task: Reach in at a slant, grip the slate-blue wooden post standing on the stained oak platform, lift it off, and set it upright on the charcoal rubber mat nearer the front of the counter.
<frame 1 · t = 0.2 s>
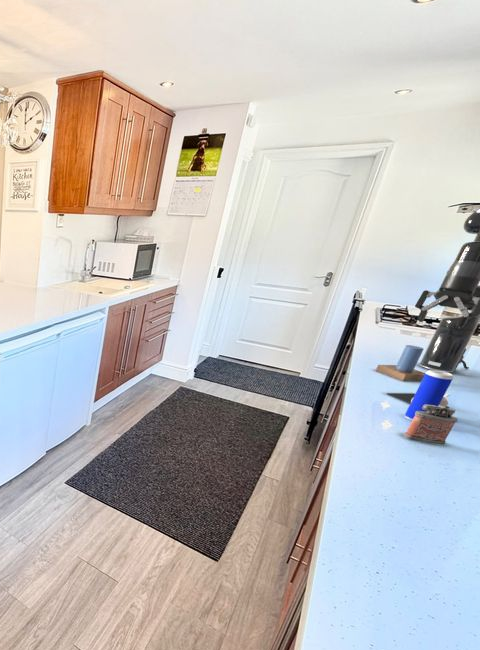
hand: (438, 325, 134), 22 cm above the countertop, tool pointing down, fingers open, 8 cm apart
mat: (416, 401, 130), on the countertop
platform: (401, 375, 151), on the countertop
beverage can: (416, 420, 117), on the countertop
garlic bulb: (423, 413, 122), on the countertop
post: (403, 369, 150), point 2 cm above the countertop, touching platform
lighter: (423, 440, 106), on the countertop
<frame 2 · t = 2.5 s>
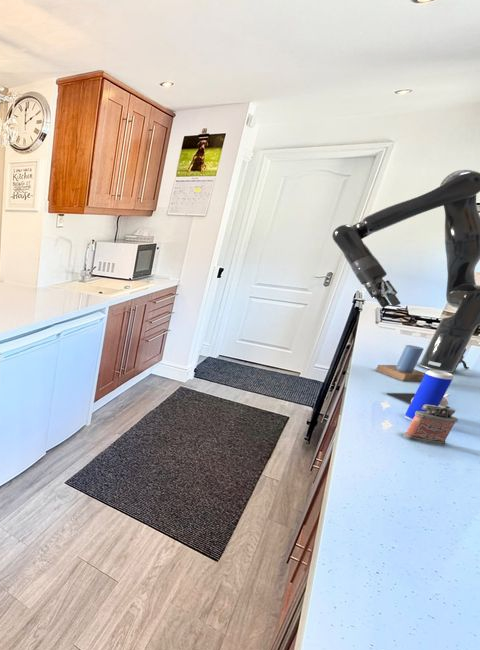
hand: (391, 305, 151), 24 cm above the countertop, tool tilted 45°, fingers open, 8 cm apart
nothing on the countertop moved.
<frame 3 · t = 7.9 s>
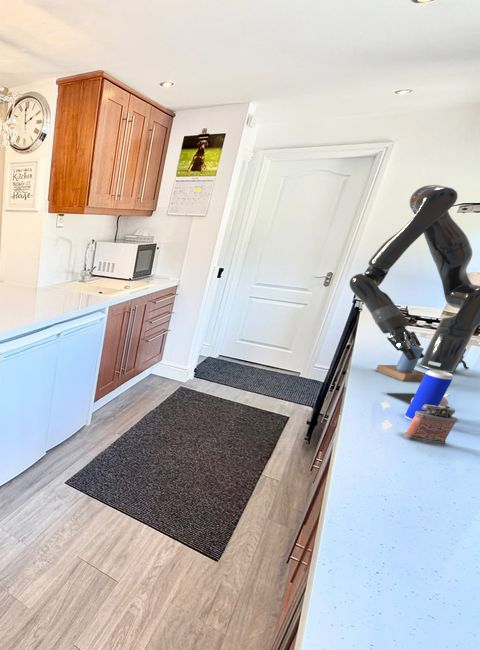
hand: (416, 358, 147), 8 cm above the countertop, tool tilted 45°, fingers closed on post, 4 cm apart
post: (403, 369, 150), point 3 cm above the countertop, touching gripper, platform
everything else where it was.
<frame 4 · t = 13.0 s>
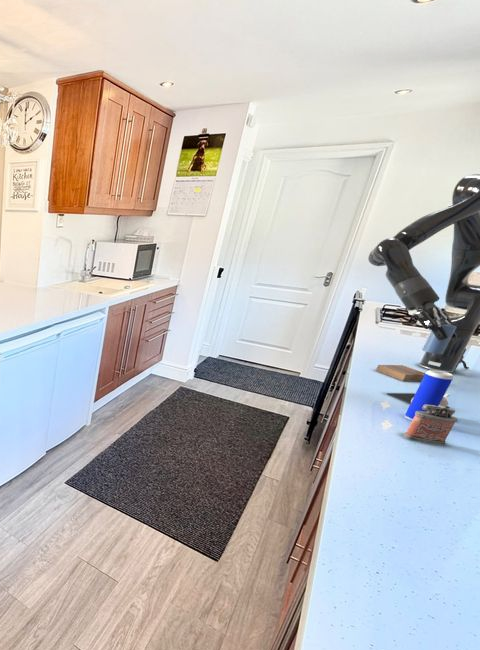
hand: (448, 338, 126), 20 cm above the countertop, tool tilted 45°, fingers closed on post, 4 cm apart
post: (432, 351, 129), point 15 cm above the countertop, touching gripper
everything else where it was.
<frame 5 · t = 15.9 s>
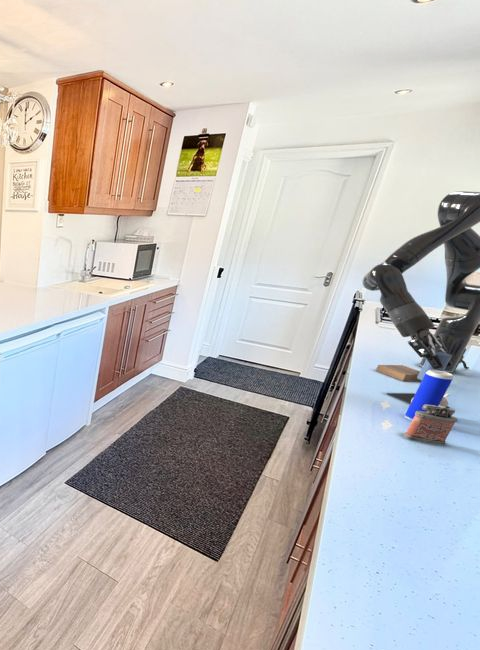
hand: (443, 367, 124), 13 cm above the countertop, tool tilted 45°, fingers closed on post, 4 cm apart
post: (427, 379, 127), point 7 cm above the countertop, touching gripper
everything else where it was.
when the fingers open (6 cm above the countertop, at t = 18.3 s): post stays where it is, resting on mat.
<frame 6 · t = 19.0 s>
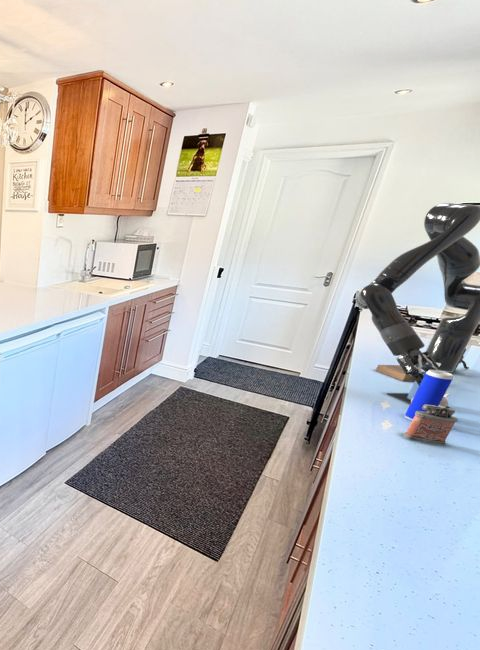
hand: (432, 384, 126), 7 cm above the countertop, tool tilted 45°, fingers open, 8 cm apart
post: (417, 399, 130), resting on mat
everything else where it was.
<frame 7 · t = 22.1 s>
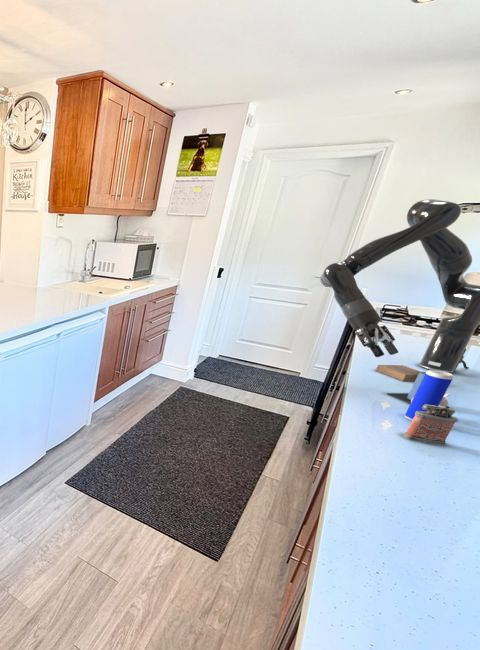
hand: (387, 355, 135), 12 cm above the countertop, tool tilted 45°, fingers open, 8 cm apart
nothing on the countertop moved.
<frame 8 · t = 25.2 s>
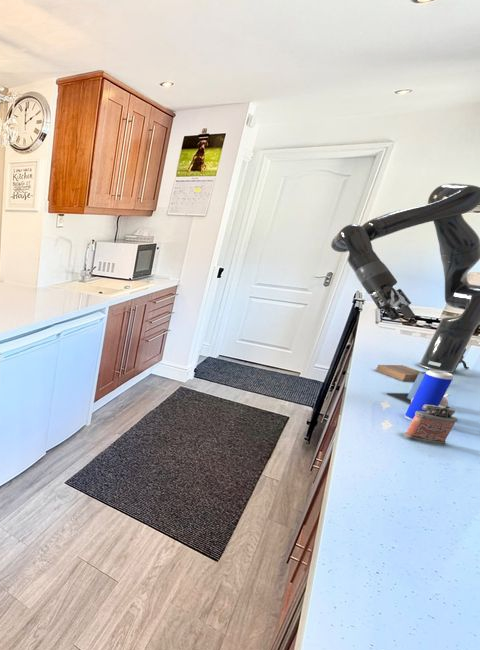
hand: (403, 318, 131), 25 cm above the countertop, tool tilted 45°, fingers open, 8 cm apart
nothing on the countertop moved.
at the end: post inside the target area on the mat (0.1 cm from its centre), point 0.4 cm above the mat's base; post tilted 0°; post touching mat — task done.
